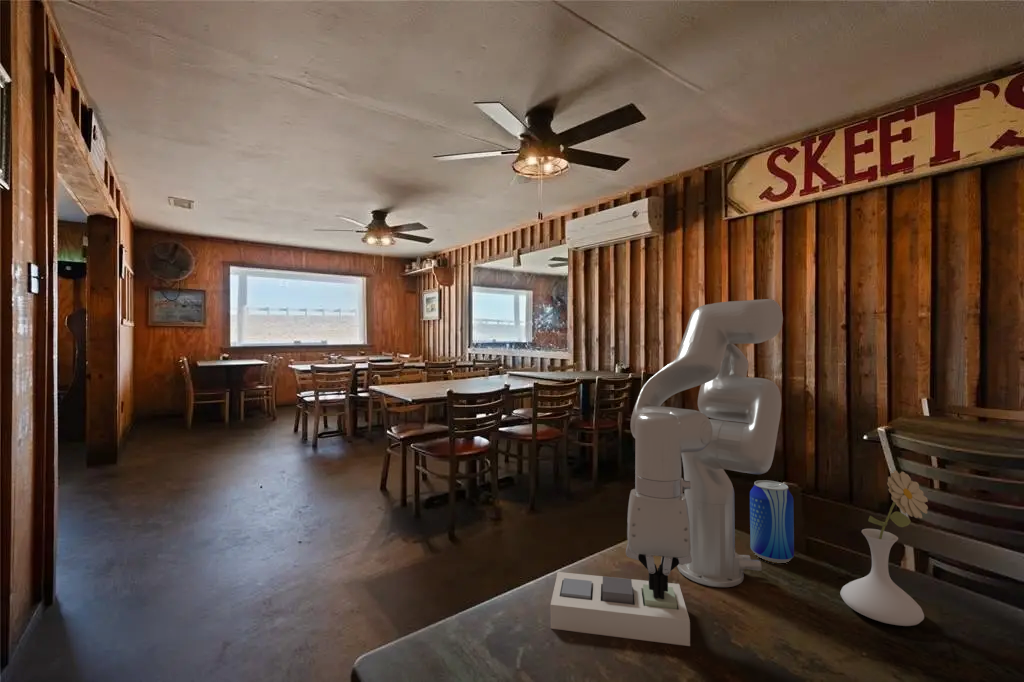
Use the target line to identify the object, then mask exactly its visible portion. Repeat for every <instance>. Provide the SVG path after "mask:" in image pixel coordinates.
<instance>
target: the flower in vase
mask: <svg viewBox="0 0 1024 682" xmlns="http://www.w3.org/2000/svg"><path fill="white" fill-rule="evenodd" d="M886 483H887V486H888V491H889V494H891V496H890V497H891V501H893V502H892V504H891V505H890V508H889V510H888V513H887V516H886V518H885V521H881V520H879V519H876V518H875V517H873V516H872V515H869V517H868V522H869V523H872V524H873V525H876V526H877V525H878V526H880V527H881V529H876V528H864V529H862V530H861V533H862V535H863V536H864V537H865V539H866V540H867V543H868V545H869V546H868V547H869V548H870V554H871V569H870V571H869V573H868V574H867V575H865V576H864V577H861V578H857V579H854V580H851V581H849V582H848V583H846V584H845V585H843V586H842V587H841V590H840V592H839V593H840V597H841V599H842V600H843V601H844V604H846V605H847V606H848V607H849V608H851V609H852V610H854V611H855V612H857V613H859V614H860V615H863V616H865V617H867V618H869V619H872V620H874V621H878V622H880V623H884V624H889V625H893V626H894V625H895V626H903V627H911V626H917V625H919V624H920V623H921V622H923V621H924V619H925V614H924V611H923V609H922V607H921V606H920V604H918V603H917V601H916V600H914V599H913V597H912V596H910V595H909V594H908V593H907V592H906V591H904V590H903V589H902V588H901V587H900V586H898V585H897V584H896V583H895V582H894V581H893V580H892V579H891V577H890V572H889V557H890V552H891V548H892V547H893V545H894V544H895V543H896V542H897V541H898V540H899V537H898V536H897V535H896V534H893V533H891V532H889V531H885V529H886V526H887V525H888V522H889V520H891V521H892V522H893V523H894V524H895V525H896V526H897V527H899V528H905V527H907V526H909V525H910V524H911V523H912V522H911V519H910V518H909V517H908V516H910V517H914V518H916V519H918V518H919V519H923V513H924V514H926V515H927V514H928V509H929V507H928V505H927V504H926V503H928V501H929V499H928V497H926V496H925V495H924V494H925V493H924V491H923V490H922V489H921V488H920V484H919V482H917V481H913V480H912V478H911V477H910V476H909V474H908V473H906V472H904V471H900V472H898V470H893V472H891V473H890V476H887V482H886ZM895 505H896V506H897V507H898V508H899V509H900V511H901V512H900V511H894V512H893V510H894V507H895ZM905 514H907V515H908V516H907V515H905Z"/></svg>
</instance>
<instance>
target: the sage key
mask: <svg viewBox="0 0 1024 682" xmlns="http://www.w3.org/2000/svg"><path fill="white" fill-rule="evenodd" d="M643 604H644V606H650V607H659V608H668V609H677V602H676V598H675V594H674V590H673V587H668V592H666V591H664V599H661V598H659V597H657V598H654V594H653V590H649V585H645V584H643Z"/></svg>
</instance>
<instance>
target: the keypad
mask: <svg viewBox="0 0 1024 682" xmlns="http://www.w3.org/2000/svg"><path fill="white" fill-rule="evenodd" d="M603 577H605V576H602V575H593V574H592V575H591V574H583V573H572V572H563V571H557V574H556V577H555V578H556V579H555V584H554V588H553V592H552V595H551V601H550V629H553V630H558V631H559V630H561V631H568V632H576V633H583V634H591V635H600V636H607V637H615V638H623V639H631V640H639V641H646V642H655V643H661V644H669V645H670V644H671V645H677V646H686V647H691V622H690V621H691V620H690V617H689V613H688V610H687V606H686V602H685V600H684V596H683V593H682V590H681V586H680V583H673V582H672V583H671V582H668V587H673V590H674V594H675V598H676V602H677V609H668V608H659V607H650V606H644V604H643V584H645V585H649V580H643V579H635V578H634V579H631V578H630V579H631V581H632V591H633V605H632V604H623V603H614V602H605V601H603V598H602V589H603ZM612 577H613V576H612ZM564 578H568V579H577V580H587V581H592V600H587V599H578V598H569V597H561V592H562V586H563V581H564ZM613 578H615V577H613ZM622 578H623V577H622ZM623 579H625V578H623Z"/></svg>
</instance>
